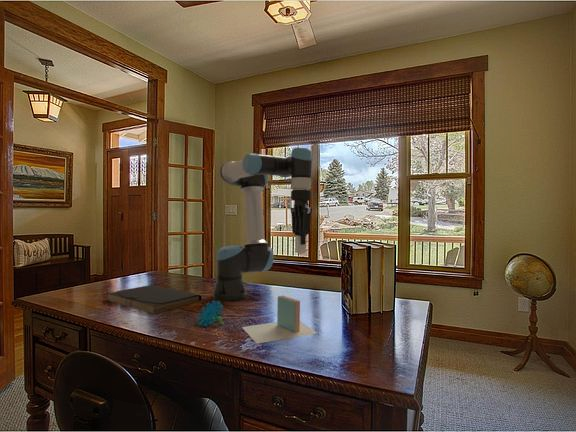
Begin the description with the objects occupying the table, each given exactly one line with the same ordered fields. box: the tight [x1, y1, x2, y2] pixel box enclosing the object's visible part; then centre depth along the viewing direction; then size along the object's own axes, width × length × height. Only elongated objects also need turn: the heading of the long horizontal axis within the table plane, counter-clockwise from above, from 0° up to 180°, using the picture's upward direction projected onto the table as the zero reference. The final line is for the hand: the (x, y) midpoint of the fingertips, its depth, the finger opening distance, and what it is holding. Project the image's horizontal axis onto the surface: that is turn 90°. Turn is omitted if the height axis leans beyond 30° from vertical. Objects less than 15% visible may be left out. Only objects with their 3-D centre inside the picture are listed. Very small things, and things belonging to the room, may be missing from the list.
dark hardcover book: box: [106, 284, 202, 315], centre depth 144 cm, size 33×4×24 cm
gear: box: [196, 300, 225, 328], centre depth 116 cm, size 11×6×10 cm
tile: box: [276, 295, 301, 332], centre depth 110 cm, size 2×9×10 cm, turn 40°
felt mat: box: [241, 320, 318, 344], centre depth 109 cm, size 15×21×1 cm
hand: (300, 252), depth 122 cm, fingers open, 2 cm apart
